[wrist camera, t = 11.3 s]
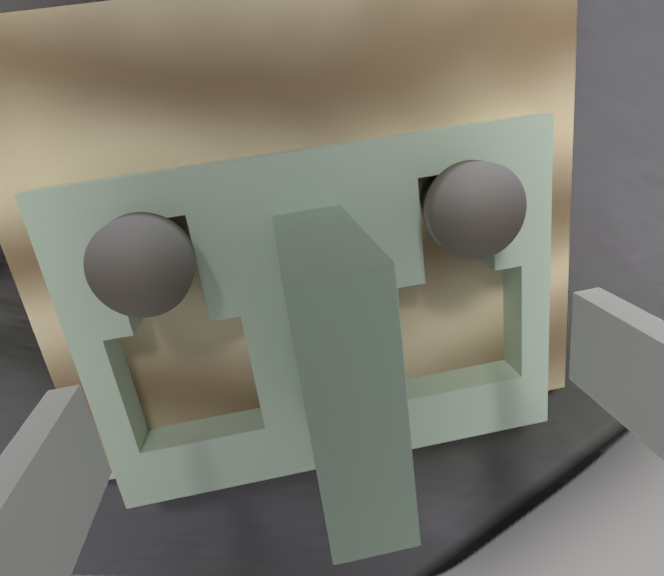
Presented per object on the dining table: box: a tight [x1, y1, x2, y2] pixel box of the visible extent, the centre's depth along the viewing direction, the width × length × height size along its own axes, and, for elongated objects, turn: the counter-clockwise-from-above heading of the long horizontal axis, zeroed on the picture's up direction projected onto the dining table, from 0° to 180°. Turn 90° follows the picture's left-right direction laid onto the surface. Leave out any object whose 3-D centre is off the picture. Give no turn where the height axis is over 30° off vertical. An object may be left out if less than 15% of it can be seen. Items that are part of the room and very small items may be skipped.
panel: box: [14, 113, 554, 566], centre depth 16 cm, size 13×18×9 cm
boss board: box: [0, 0, 578, 480], centre depth 18 cm, size 18×22×5 cm
